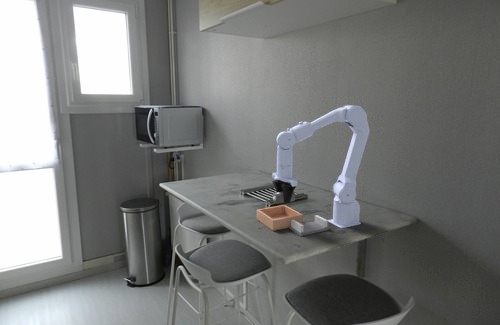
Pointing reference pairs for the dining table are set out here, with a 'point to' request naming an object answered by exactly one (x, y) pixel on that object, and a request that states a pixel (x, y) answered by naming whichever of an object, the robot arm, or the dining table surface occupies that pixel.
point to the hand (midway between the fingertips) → (283, 200)
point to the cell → (281, 197)
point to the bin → (278, 217)
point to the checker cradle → (309, 226)
